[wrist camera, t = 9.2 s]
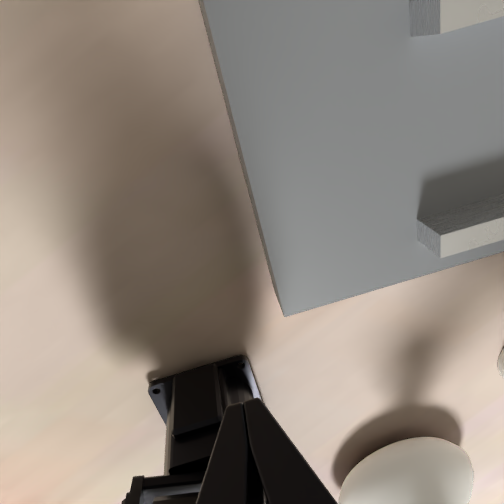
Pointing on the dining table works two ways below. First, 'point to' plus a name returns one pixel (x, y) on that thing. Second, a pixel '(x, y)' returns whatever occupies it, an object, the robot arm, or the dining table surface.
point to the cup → (501, 363)
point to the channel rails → (483, 211)
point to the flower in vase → (411, 474)
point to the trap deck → (356, 136)
